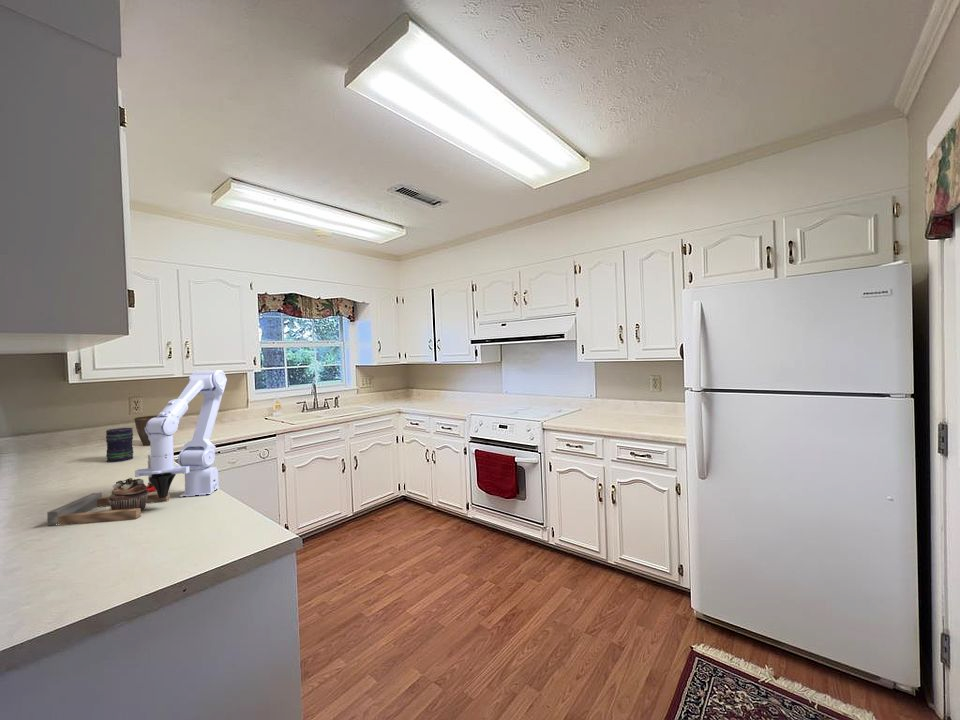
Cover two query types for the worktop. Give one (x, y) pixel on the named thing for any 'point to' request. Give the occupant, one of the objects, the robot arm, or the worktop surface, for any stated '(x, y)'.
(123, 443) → the storage jar
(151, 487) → the tow hook
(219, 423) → the worktop surface
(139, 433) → the plant pot
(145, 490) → the cupcake
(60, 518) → the guide track
